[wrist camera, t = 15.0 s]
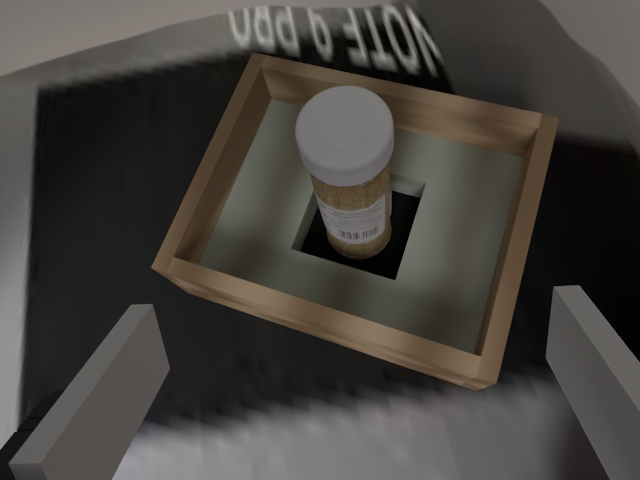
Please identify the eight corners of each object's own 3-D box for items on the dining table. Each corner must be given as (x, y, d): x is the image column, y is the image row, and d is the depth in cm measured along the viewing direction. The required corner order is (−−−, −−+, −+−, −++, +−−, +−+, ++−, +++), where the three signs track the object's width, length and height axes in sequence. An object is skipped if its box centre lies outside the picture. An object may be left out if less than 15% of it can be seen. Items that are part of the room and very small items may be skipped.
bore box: (188, 293, 35) (151, 267, 30) (271, 105, 40) (252, 52, 34) (476, 391, 31) (496, 382, 25) (532, 166, 35) (559, 117, 30)
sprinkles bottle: (396, 206, 36) (402, 86, 23) (384, 267, 34) (384, 175, 22) (333, 197, 36) (306, 76, 24) (319, 255, 35) (282, 160, 22)
